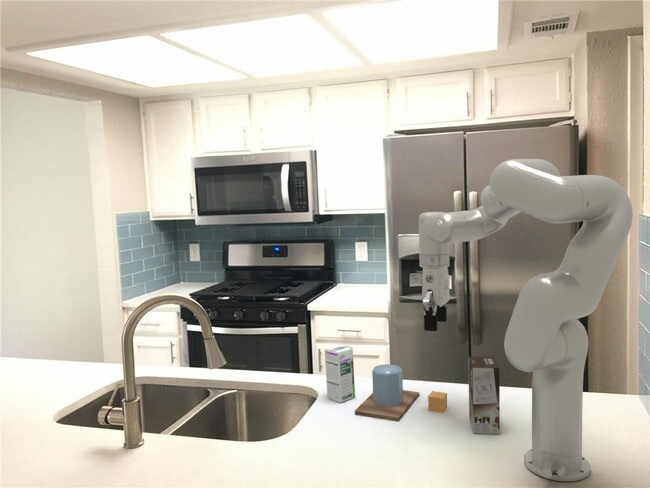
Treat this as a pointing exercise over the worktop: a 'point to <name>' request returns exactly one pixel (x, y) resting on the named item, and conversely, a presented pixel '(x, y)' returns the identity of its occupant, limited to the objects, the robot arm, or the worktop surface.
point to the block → (437, 402)
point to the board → (384, 412)
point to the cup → (387, 385)
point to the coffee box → (484, 394)
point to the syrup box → (340, 373)
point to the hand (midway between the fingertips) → (435, 325)
